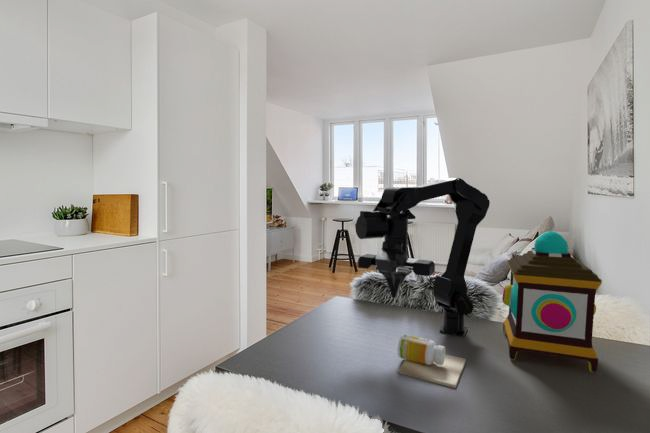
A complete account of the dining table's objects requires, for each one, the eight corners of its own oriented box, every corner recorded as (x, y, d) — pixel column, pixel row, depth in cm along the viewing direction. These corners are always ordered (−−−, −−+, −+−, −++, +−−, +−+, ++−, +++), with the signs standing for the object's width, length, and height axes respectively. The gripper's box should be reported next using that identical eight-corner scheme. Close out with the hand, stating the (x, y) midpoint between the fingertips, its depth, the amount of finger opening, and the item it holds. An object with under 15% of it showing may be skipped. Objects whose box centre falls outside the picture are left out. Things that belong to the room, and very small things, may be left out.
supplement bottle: (398, 362, 86) (441, 374, 81) (396, 344, 83) (440, 354, 79) (405, 346, 90) (446, 356, 85) (403, 329, 88) (445, 338, 83)
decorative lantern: (607, 379, 79) (617, 239, 76) (503, 362, 86) (510, 233, 83) (580, 342, 97) (587, 228, 95) (497, 331, 104) (502, 225, 102)
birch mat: (414, 350, 92) (414, 347, 92) (465, 361, 86) (465, 359, 86) (397, 372, 81) (397, 370, 81) (455, 388, 75) (455, 385, 75)
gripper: (348, 238, 91) (347, 299, 93) (424, 244, 82) (422, 313, 83) (366, 233, 101) (365, 289, 102) (436, 238, 92) (434, 300, 93)
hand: (394, 297), depth 95 cm, fingers closed
